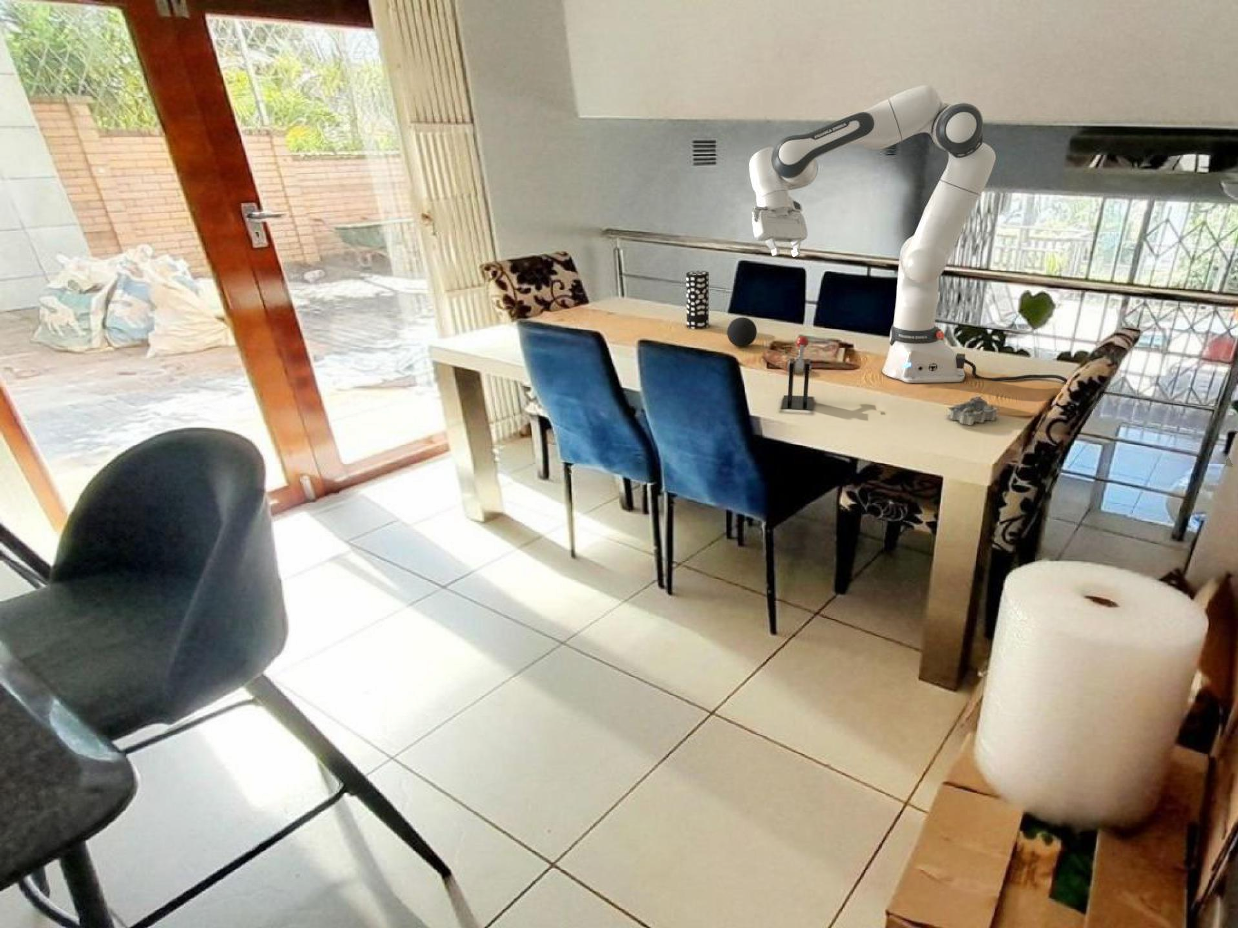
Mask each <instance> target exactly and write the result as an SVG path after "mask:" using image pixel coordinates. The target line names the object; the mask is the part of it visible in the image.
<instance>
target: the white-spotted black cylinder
mask: <svg viewBox="0 0 1238 928" xmlns="http://www.w3.org/2000/svg"><path fill="white" fill-rule="evenodd" d="M685 275H686V276H685V277H686V278H685V279H686V283H685V284H686V285H685V286H686V328H688V329H693V330H701V329H706V328H709V326H710V325H709V321H710V318H709V317H710V315H709V313H710V312H709V311H710V310H709V309H710V307H709V305H710V302H709V301H710V297H709V296H710V293H709V292H710V289H709V287H710V281H709V280H710V273H709V271H707V270H693V271H688V272H686V273H685Z"/></svg>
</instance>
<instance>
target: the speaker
mask: <svg viewBox="0 0 1238 928" xmlns="http://www.w3.org/2000/svg"><path fill="white" fill-rule="evenodd" d="M757 329H758V328H757V325H756V324H755V322H754V321H753V320H751V319H750V318H748V317H746V316H745V317H737V318H734V319H733V320H732V321H731V322H730V323H729V325H728V326H727V329H726V335H727V339H728V340H729V342H730V343H731V344H732V345H734V346H735V347H738V348H745V347H748V346H749V345H751V344H752V343H754V341H755V339H756V338H757V336H758V335H757V333H758V331H757Z"/></svg>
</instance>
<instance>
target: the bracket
mask: <svg viewBox="0 0 1238 928" xmlns="http://www.w3.org/2000/svg"><path fill="white" fill-rule="evenodd" d="M805 360H806V364H805V370H804V378H803V379H804V381H803V384H804V385H803V395H793V394H794V377H795V374H794V361H795V358H791V360H790V364H788V370H789V372H788V386H787V395H786V394H784V395H783V397H782V401H781V406H780V410H791V411H793V410H795V411H810V412H811V411H813V405H814V399H815V398H814V396H811V395H809V383H810V382H809V381H810V372H811V371H812V367H813V365H812V364H811V358H806V359H805Z"/></svg>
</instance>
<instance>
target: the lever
mask: <svg viewBox="0 0 1238 928" xmlns="http://www.w3.org/2000/svg"><path fill="white" fill-rule="evenodd" d="M809 341H810V340H809V338H808V337H807V336H804V335H802V336H799V337H798V338H797V339H796V346H797V347H798V348H799V349H798V357H799V358H798V361H797V360H796V363H795V374H794V375H804V374H805V370H804V361H803V359H804V351H805V348H807V347H808V346H809Z"/></svg>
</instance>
